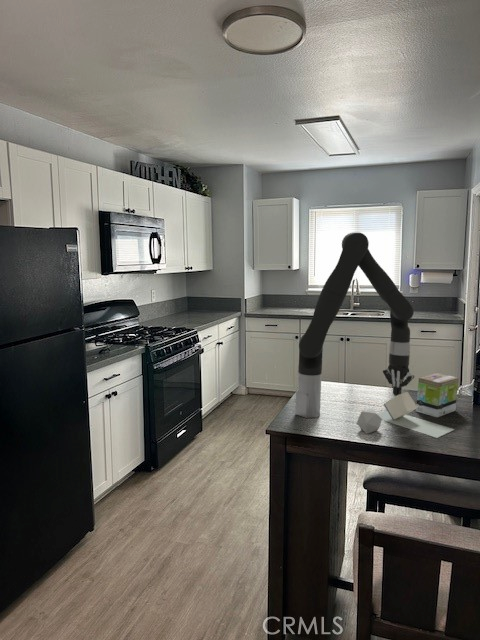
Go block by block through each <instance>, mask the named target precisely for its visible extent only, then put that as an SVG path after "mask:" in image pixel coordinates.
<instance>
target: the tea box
mask: <svg viewBox="0 0 480 640" xmlns="http://www.w3.org/2000/svg"><path fill="white" fill-rule="evenodd" d="M417 384H418V385H417V393H416V403H415V404H416V406H417V407H418V408H416V409H415V412H417V413H421V414H423V415H428V416H431V417H434V418H440V417H442V416H445V415H447V414H450V413H454V412H456V407H457V397H458V389H459V388H458V386H459V377H457V376H452V375H448V374H443V373H440V372H439V373H438V372H436V373H431V374H428V375H424V376H422V377H421V376H420V377H419V378H418V383H417Z"/></svg>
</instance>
